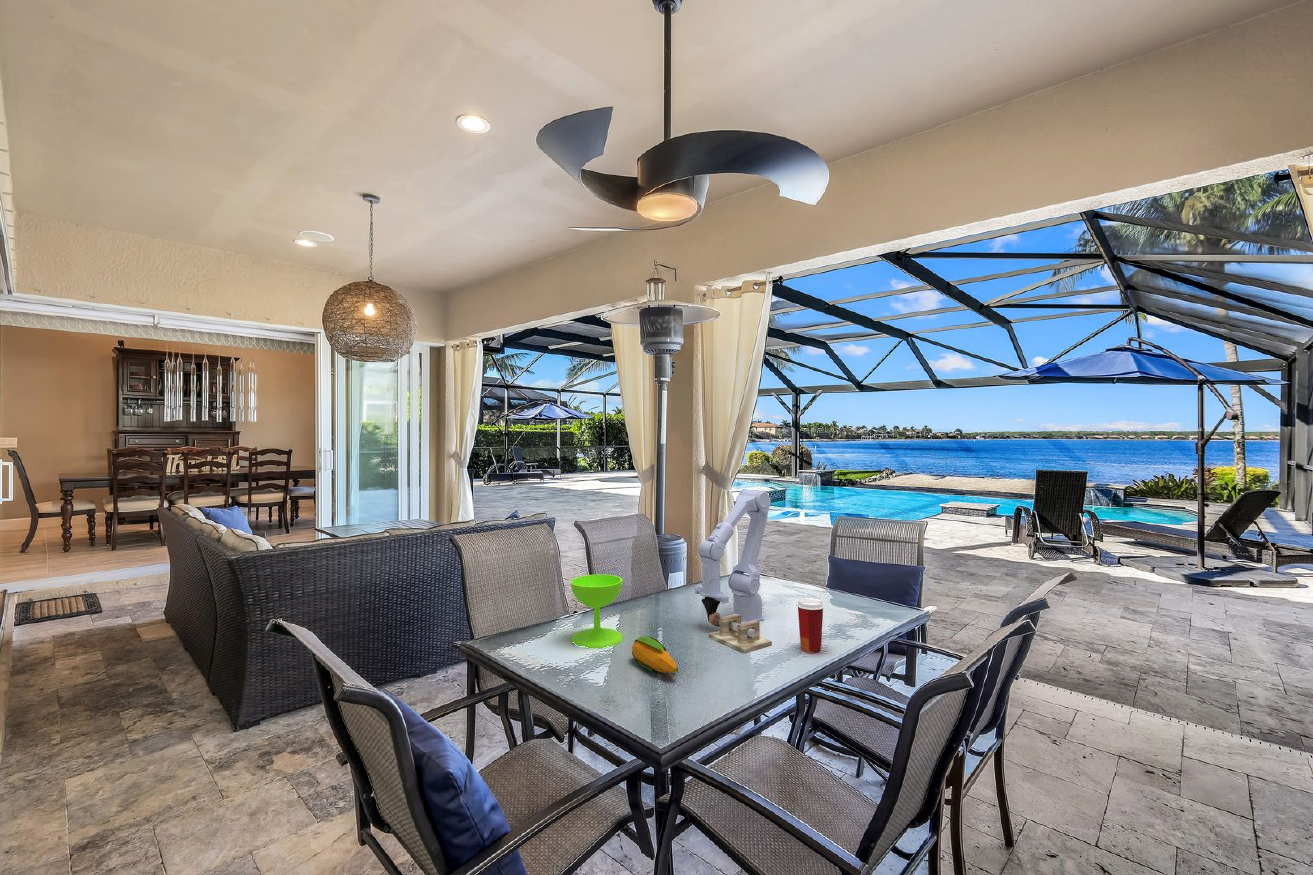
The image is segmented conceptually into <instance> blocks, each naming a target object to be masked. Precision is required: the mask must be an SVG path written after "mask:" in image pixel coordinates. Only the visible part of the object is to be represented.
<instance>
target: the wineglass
mask: <svg viewBox="0 0 1313 875" xmlns="http://www.w3.org/2000/svg"><path fill="white" fill-rule="evenodd" d="M570 587H571V591H572V594H573V596H574V597H575V598H576V600H577V601H579V602H580V603H581V604H583V605H584V606H585V607H590V608H593V627H592V628H586V629H582V630H580V631H577V632H576V633H575V634H573V635H572V637H571V639H572V642H574V643H575V644H576V645H578V646H585V647H588V648H598V649H604V648H603V647H607V646H611V647H614V646H613V645H615V646H617V645H619V644H620V643H622V642H623V640H624V637H623V634H622V632H620V631H618V630H617V629H613V628H609V627H608V628H606V627H601V608H602V607H606V606H609V605H610V604H611V603H612V602H614V601H615V600H616V599H617V597H619V594H620V593H621V590H622V588H623V578H622V577H620V576H617V575H614V574H601V573H600V574H599V573H598V574H587V575H581V576H578V577H574V578H572V579H571V580H570ZM572 642H571V643H572ZM619 642H620V643H619ZM618 643H619V644H618ZM616 644H617V645H616ZM578 646H577V647H578ZM588 648H587V649H588ZM607 648H608V647H607Z"/></svg>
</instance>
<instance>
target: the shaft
mask: <svg viewBox="0 0 1313 875" xmlns="http://www.w3.org/2000/svg"><path fill="white" fill-rule="evenodd" d="M721 617H722V616H721V614H720V613H719V612H717V611H716V612H712V613H711V614H710V615H709V621H708V622H709V623H710V625H713V626H718V625H719V626H720V618H721ZM738 624H739V623H736V622H734V621H729V629H732V630H734V631H737V625H738ZM756 634H757V632H756V630H754V629H752V628H747V636H749V637H752V638H754V637H755V636H756Z"/></svg>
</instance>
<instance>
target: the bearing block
mask: <svg viewBox="0 0 1313 875" xmlns="http://www.w3.org/2000/svg"><path fill="white" fill-rule="evenodd" d="M729 621H734V622H736V623H739V624H738V625H737V631H734V630H732V629H729ZM747 628H752V629H754V630H756V632H757V634H756V636H755V637H754V638H752V637H749V636H747ZM707 635H708V638H709V639H711V640H713V641H716V642H718V643H720V644H722V645H724V646H727V647H729V648H731V649H733V650H736V651H738V652H740V653H743V654H747V653H751V652H753V651H758V650H760V649H761V650H762V649H765V648H768V647H771V646H772V645H773V641H772V640H770V639H768V638H764V637H762V636H761V633H760V621H756V620H754V621H750V622H746V623H742V624H741V615H739V614H730V615H724V616H721V618H720V625H719V630H718V631H713V632H709V633H708V634H707Z"/></svg>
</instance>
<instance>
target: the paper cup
mask: <svg viewBox="0 0 1313 875" xmlns="http://www.w3.org/2000/svg"><path fill="white" fill-rule="evenodd" d="M796 607H797V611H798V614H797V615H798V629H799V642H800V643H799V644H800V650H801V652H803V653H807V654H818V653H821V649H822V638H823V636H822V635H823V621H824V620H823V619H824V608H825V606H824V602H823V601H822V600H820V599H817V598H813V597H812V598H811V597H805V598H800V599H798V601H797V603H796Z"/></svg>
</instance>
